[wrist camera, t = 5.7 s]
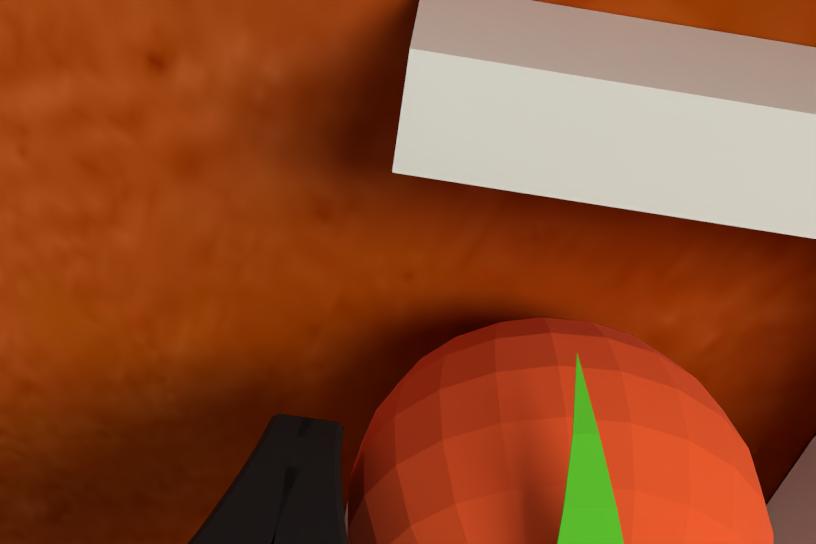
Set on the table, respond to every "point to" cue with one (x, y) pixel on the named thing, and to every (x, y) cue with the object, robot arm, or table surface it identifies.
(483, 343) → the clementine
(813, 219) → the holder
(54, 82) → the table surface
